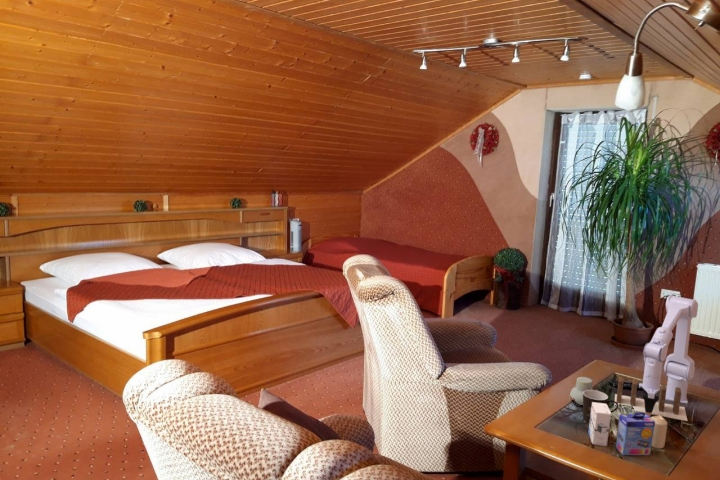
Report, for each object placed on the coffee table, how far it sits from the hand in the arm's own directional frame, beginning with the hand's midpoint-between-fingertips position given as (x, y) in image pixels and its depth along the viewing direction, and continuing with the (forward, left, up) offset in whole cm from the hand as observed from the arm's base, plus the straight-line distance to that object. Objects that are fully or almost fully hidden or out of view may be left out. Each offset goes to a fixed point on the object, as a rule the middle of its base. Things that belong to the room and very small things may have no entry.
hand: (648, 409), depth 216 cm
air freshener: (-1, -23, -4) cm, 23 cm away
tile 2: (-10, +5, -3) cm, 12 cm away
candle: (+21, +2, -3) cm, 21 cm away
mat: (-10, +1, -3) cm, 11 cm away
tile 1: (-10, +10, -3) cm, 14 cm away
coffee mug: (+13, -17, -3) cm, 22 cm away
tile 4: (-10, -5, -3) cm, 12 cm away
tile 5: (-10, -10, -3) cm, 14 cm away
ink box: (+27, -16, -4) cm, 32 cm away
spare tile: (0, 0, -3) cm, 3 cm away
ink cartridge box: (+30, -5, -4) cm, 31 cm away
